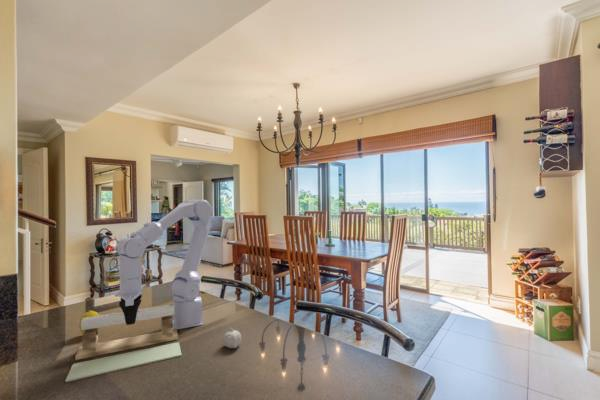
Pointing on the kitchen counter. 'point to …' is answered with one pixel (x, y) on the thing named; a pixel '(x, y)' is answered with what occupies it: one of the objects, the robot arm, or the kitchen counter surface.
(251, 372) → the kitchen counter surface
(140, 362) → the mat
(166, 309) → the rail
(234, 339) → the garlic
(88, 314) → the lemon
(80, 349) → the rack
